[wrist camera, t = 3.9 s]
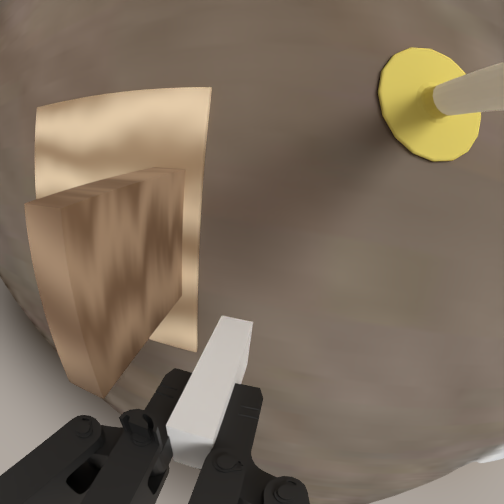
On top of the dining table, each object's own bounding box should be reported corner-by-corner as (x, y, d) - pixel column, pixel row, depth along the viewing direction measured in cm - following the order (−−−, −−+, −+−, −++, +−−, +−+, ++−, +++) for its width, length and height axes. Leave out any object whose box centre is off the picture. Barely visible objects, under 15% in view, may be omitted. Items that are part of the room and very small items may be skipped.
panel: (152, 167, 23) (22, 203, 10) (185, 169, 23) (60, 208, 10) (153, 288, 28) (68, 381, 15) (182, 295, 27) (103, 398, 15)
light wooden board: (39, 107, 23) (37, 107, 23) (212, 88, 20) (210, 87, 20) (55, 302, 33) (53, 304, 33) (197, 350, 30) (196, 352, 30)
